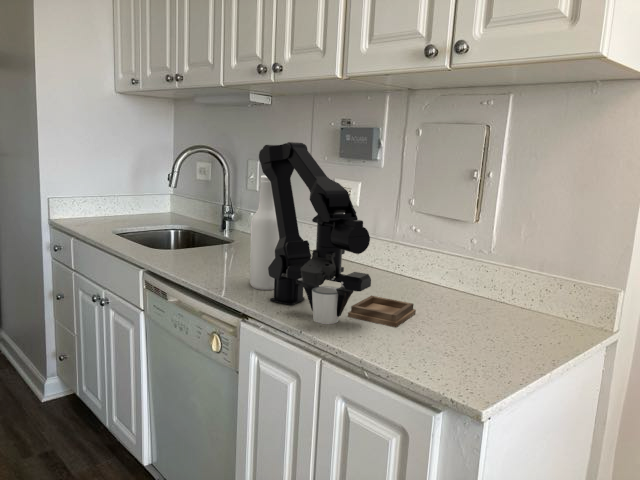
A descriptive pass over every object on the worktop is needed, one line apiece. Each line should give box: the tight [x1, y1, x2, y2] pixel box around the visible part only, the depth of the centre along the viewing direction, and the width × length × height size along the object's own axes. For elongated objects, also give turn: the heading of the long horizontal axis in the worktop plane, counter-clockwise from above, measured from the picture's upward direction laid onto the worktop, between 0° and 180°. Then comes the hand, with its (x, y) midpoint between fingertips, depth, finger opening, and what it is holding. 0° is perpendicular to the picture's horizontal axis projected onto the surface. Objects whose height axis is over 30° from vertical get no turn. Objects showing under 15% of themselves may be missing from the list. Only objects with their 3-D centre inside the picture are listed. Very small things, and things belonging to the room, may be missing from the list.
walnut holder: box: [347, 295, 417, 328], centre depth 124 cm, size 12×12×2 cm
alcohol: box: [249, 174, 279, 291], centre depth 142 cm, size 9×9×30 cm
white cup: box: [312, 285, 340, 325], centre depth 119 cm, size 7×7×7 cm
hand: (326, 313), depth 119 cm, fingers closed on white cup, 6 cm apart
